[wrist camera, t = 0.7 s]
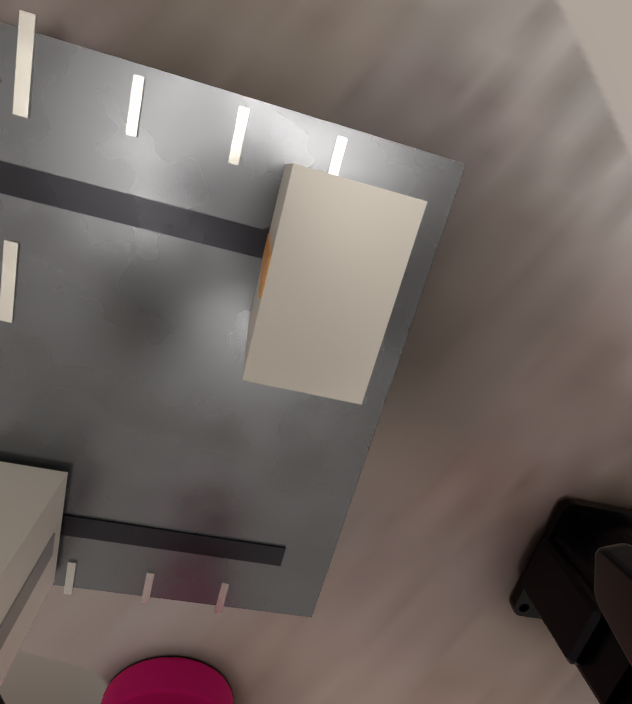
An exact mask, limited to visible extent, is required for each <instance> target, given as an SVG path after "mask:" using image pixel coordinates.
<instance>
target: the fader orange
mask: <svg viewBox="0 0 632 704" xmlns="http://www.w3.org/2000/svg"><path fill="white" fill-rule="evenodd" d="M426 204H427V201H424V200H421V199H417V198H414V197H410V196H407V195H403V194H400V193H396V192H393V191H389V190H386V189H382V188H379V187H375V186H372V185H368V184H365V183H361V182H358V181H354V180H351V179H347V178H344V177H340V176H337V175H333V174H330V173H326V172H323V171H319V170H316V169H312V168H309V167H305V166H302V165H298V164H295V163H291V164H285V167H284V171H283V175H282V180H281V184H280V188H279V192H278V197H277V201H276V205H275V210H274V214H273V218H272V223H271V227H270V231H269V233H268V236H267V241H266V245H265V249H264V254H263V258H262V262H261V269H260V274H259V279H258V283H257V287H256V291H255V296H254V300H253V304H252V309H251V313H250V317H249V323H248V332H247V341H246V350H245V359H244V368H243V377H242V380H244V381H249V382H254V383H259V384H264V385H269V386H273V387H278V388H283V389H288V390H293V391H298V392H303V393H307V394H312V395H317V396H322V397H327V398H332V399H337V400H341V401H346V402H351V403H356V404H361V405H362V402H363V399H364V395H365V392H366V389H367V386H368V383H369V380H370V377H371V374H372V371H373V368H374V365H375V362H376V358H377V355H378V352H379V349H380V346H381V343H382V340H383V337H384V334H385V331H386V328H387V325H388V322H389V318H390V315H391V312H392V309H393V306H394V303H395V300H396V297H397V294H398V291H399V288H400V285H401V281H402V278H403V275H404V272H405V269H406V266H407V263H408V260H409V257H410V254H411V251H412V248H413V245H414V241H415V238H416V235H417V232H418V229H419V226H420V223H421V220H422V217H423V214H424V211H425V208H426Z"/></svg>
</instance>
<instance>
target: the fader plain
mask: <svg viewBox="0 0 632 704" xmlns="http://www.w3.org/2000/svg"><path fill="white" fill-rule="evenodd" d="M67 476H68V472H62V471H56V470H50V469H44V468H38V467H32V466H26V465H19V464H13V463H7V462H1V461H0V686H1V684H2V682H3V680H4V678H5V676H6V674H7V673H8V671H9V668H10V667H11V665H12V662H13V661H14V659H15V657H16V655H17V653H18V651H19V649H20V647H21V645H22V643H23V641H24V639H25V637H26V635H27V633H28V631H29V630H30V628H31V626H32V624H33V622H34V620H35V618H36V616H37V614H38V612H39V610H40V608H41V606H42V604H43V602H44V600H45V598H46V596H47V594H48V592H49V590H50V588H51V586H52V585H53V583H54V579H55V571H56V563H57V555H58V548H59V540H60V532H61V524H62V516H63V508H64V500H65V492H66V484H67Z"/></svg>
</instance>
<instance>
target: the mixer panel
mask: <svg viewBox="0 0 632 704" xmlns="http://www.w3.org/2000/svg"><path fill="white" fill-rule="evenodd" d="M36 24H37V15H34V14H31V13H28V12H25V11H22V10H19V25H18V27H16V26H13V25H10V24H6V23H3V22H0V461H1V462H7V463H13V464H19V465H26V466H32V467H38V468H44V469H50V470H56V471H62V472H68V476H67V484H66V492H65V500H64V508H63V516H62V524H61V532H60V540H59V548H58V555H57V563H56V571H55V579H54V583H53V585H60V586H65V587H64V594H68V595H72V592H73V587H76V588H84V589H92V590H100V591H107V592H115V593H123V594H131V595H139V596H142V600H141V604H149V599H150V597H155V598H163V599H171V600H179V601H187V602H195V603H203V604H210V605H216V607H215V611H214V613H222V609H223V606H226V607H234V608H242V609H250V610H258V611H266V612H274V613H282V614H290V615H298V616H306V617H312V615H313V612H314V609H315V606H316V603H317V600H318V597H319V594H320V591H321V588H322V585H323V582H324V579H325V576H326V574H327V571H328V568H329V565H330V562H331V559H332V556H333V553H334V550H335V547H336V544H337V541H338V538H339V535H340V532H341V529H342V527H343V524H344V521H345V518H346V515H347V512H348V509H349V506H350V503H351V500H352V497H353V494H354V491H355V488H356V485H357V482H358V480H359V477H360V474H361V471H362V468H363V465H364V462H365V459H366V456H367V453H368V450H369V447H370V444H371V441H372V438H373V435H374V432H375V430H376V427H377V424H378V421H379V418H380V415H381V412H382V409H383V406H384V403H385V400H386V397H387V394H388V391H389V388H390V385H391V383H392V380H393V377H394V374H395V371H396V368H397V365H398V362H399V359H400V356H401V353H402V350H403V347H404V344H405V341H406V338H407V336H408V333H409V330H410V327H411V324H412V321H413V318H414V315H415V312H416V309H417V306H418V303H419V300H420V297H421V294H422V291H423V288H424V286H425V283H426V280H427V277H428V274H429V271H430V268H431V265H432V262H433V259H434V256H435V253H436V250H437V247H438V244H439V241H440V239H441V236H442V233H443V230H444V227H445V224H446V221H447V218H448V215H449V212H450V209H451V206H452V203H453V200H454V197H455V194H456V192H457V189H458V186H459V183H460V180H461V177H462V174H463V171H464V168H465V165H466V164H465V163H462V162H459V161H456V160H452V159H449V158H446V157H442V156H439V155H436V154H433V153H429V152H426V151H423V150H419V149H416V148H413V147H410V146H406V145H403V144H400V143H397V142H393V141H390V140H387V139H383V138H380V137H377V136H374V135H370V134H367V133H364V132H360V131H357V130H354V129H351V128H347V127H344V126H341V125H338V124H334V123H331V122H328V121H324V120H321V119H318V118H315V117H311V116H308V115H305V114H301V113H298V112H295V111H292V110H288V109H285V108H282V107H279V106H275V105H272V104H269V103H265V102H262V101H259V100H256V99H252V98H249V97H246V96H242V95H239V94H236V93H233V92H229V91H226V90H223V89H220V88H216V87H213V86H210V85H206V84H203V83H200V82H197V81H193V80H190V79H187V78H183V77H180V76H177V75H174V74H170V73H167V72H164V71H161V70H157V69H154V68H151V67H147V66H144V65H141V64H138V63H134V62H131V61H128V60H124V59H121V58H118V57H115V56H111V55H108V54H105V53H102V52H98V51H95V50H92V49H88V48H85V47H82V46H79V45H75V44H72V43H69V42H65V41H62V40H59V39H56V38H52V37H49V36H46V35H43V34H39V33H36ZM291 163H295V164H298V165H302V166H305V167H309V168H312V169H316V170H319V171H323V172H326V173H330V174H333V175H337V176H340V177H344V178H347V179H351V180H354V181H358V182H361V183H365V184H368V185H372V186H375V187H379V188H382V189H386V190H389V191H393V192H396V193H400V194H403V195H407V196H410V197H414V198H417V199H421V200H424V201H427V204H426V208H425V211H424V214H423V217H422V220H421V223H420V226H419V229H418V232H417V235H416V238H415V241H414V245H413V248H412V251H411V254H410V257H409V260H408V263H407V266H406V269H405V272H404V275H403V278H402V281H401V285H400V288H399V291H398V294H397V297H396V300H395V303H394V306H393V309H392V312H391V315H390V318H389V322H388V325H387V328H386V331H385V334H384V337H383V340H382V343H381V346H380V349H379V352H378V355H377V358H376V362H375V365H374V368H373V371H372V374H371V377H370V380H369V383H368V386H367V389H366V392H365V395H364V399H363V402H362V405H361V404H356V403H351V402H346V401H341V400H337V399H332V398H327V397H322V396H317V395H312V394H307V393H303V392H298V391H293V390H288V389H283V388H278V387H273V386H269V385H264V384H259V383H254V382H249V381H244V380H242V377H243V368H244V359H245V350H246V341H247V332H248V323H249V317H250V313H251V309H252V304H253V300H254V296H255V291H256V287H257V283H258V279H259V274H260V269H261V262H262V258H263V254H264V249H265V245H266V241H267V236H268V233H269V231H270V227H271V223H272V218H273V214H274V210H275V205H276V201H277V197H278V192H279V188H280V184H281V180H282V175H283V171H284V167H285V164H291Z"/></svg>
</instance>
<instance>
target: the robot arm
mask: <svg viewBox="0 0 632 704" xmlns="http://www.w3.org/2000/svg"><path fill="white" fill-rule="evenodd" d="M571 509H572V510H571ZM569 510H571V511H570V512H568V511H569ZM567 512H568V513H567ZM510 604H511V607H512V609H513V611H514V612H515V613H516V614H517V615H519V616H525V617H532V618H540V619H542V620H543V621H544V623H545V625H546V626H547V628H548V630H549V631H550V633H551V635H552V636H553V638H554V639H555V641H556V643H557V644H558V646H559V648H560V649H561V651H562V653H563V654H564V656H565V657H566V659H567V661H568V662H569V663H570V664H575V665H576V666H577V668H578V669H579V671H580V673H581V674H582V676H583V678H584V679H585V681H586V682H587V684H588V686H589V687H590V689H591V690H592V692H593V694H594V695H595V697H596V698H597V700H598V702H599V703H600V704H632V510H629V509H624V508H618V507H613V506H608V505H602V504H597V503H592V502H586V501H581V500H575V499H566V500H563V501H562V502H560V503H559V505H558V506H557V508H556V510H555V512H554V514H553V516H552V518H551V520H550V522H549V524H548V526H547V528H546V530H545V532H544V534H543V536H542V538H541V540H540V542H539V544H538V546H537V548H536V550H535V552H534V554H533V556H532V558H531V560H530V562H529V564H528V566H527V568H526V570H525V572H524V574H523V576H522V578H521V580H520V583H519V585H518V587H517V589H516V591H515V593H514V595H513V597H512V599H511V601H510ZM0 704H5V702H4V700H3V699H2V697H1V695H0Z"/></svg>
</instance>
